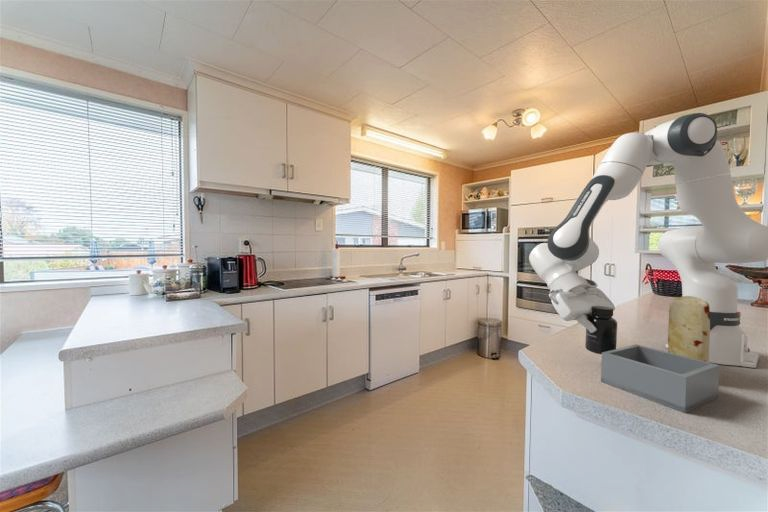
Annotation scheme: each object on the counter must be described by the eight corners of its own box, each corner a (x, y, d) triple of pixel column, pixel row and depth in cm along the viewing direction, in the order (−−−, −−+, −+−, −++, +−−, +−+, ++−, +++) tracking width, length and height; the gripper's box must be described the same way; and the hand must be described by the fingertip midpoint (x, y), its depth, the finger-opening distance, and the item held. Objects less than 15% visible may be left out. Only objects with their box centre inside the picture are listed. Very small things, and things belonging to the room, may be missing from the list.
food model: (718, 386, 69) (722, 300, 69) (682, 382, 71) (685, 299, 71) (690, 370, 79) (692, 294, 78) (658, 367, 81) (661, 293, 80)
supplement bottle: (583, 351, 81) (584, 307, 81) (587, 345, 86) (588, 303, 86) (614, 357, 76) (616, 311, 76) (617, 351, 81) (619, 307, 81)
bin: (635, 371, 78) (635, 344, 78) (718, 397, 64) (719, 365, 64) (601, 381, 71) (601, 352, 71) (685, 413, 58) (686, 377, 58)
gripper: (553, 283, 82) (589, 327, 74) (597, 280, 91) (634, 319, 82) (538, 297, 86) (571, 340, 78) (582, 293, 95) (616, 331, 87)
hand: (604, 329), depth 80 cm, fingers closed on supplement bottle, 7 cm apart
